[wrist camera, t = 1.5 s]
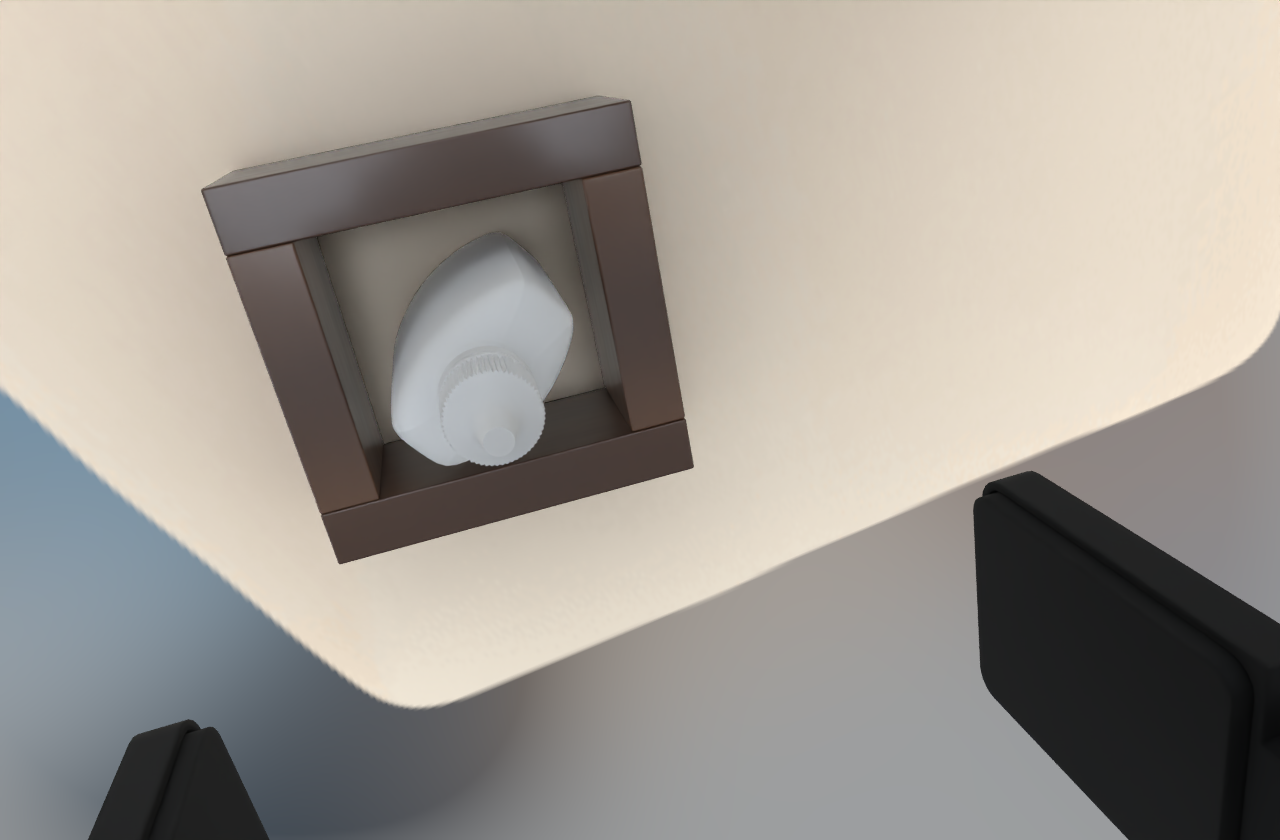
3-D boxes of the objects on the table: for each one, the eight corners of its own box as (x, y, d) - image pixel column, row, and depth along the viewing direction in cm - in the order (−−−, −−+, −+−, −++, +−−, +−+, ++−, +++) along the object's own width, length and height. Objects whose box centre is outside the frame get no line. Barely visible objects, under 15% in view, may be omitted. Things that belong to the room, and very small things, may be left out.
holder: (231, 170, 27) (199, 189, 23) (599, 95, 29) (630, 99, 25) (347, 501, 32) (338, 565, 28) (660, 419, 34) (694, 468, 29)
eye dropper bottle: (567, 336, 32) (648, 477, 21) (415, 394, 31) (416, 571, 20) (523, 217, 30) (587, 304, 19) (360, 277, 29) (330, 401, 18)
